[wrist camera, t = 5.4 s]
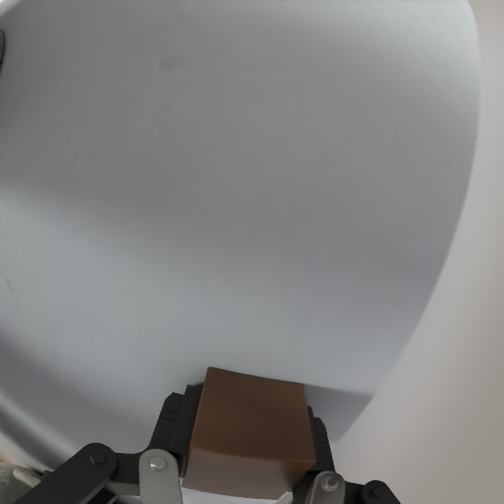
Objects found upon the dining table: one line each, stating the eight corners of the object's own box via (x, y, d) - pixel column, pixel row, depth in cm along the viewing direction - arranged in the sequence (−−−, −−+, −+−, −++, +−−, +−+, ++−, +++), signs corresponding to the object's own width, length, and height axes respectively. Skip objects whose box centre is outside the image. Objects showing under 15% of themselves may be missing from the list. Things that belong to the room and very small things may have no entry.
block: (196, 421, 11) (181, 487, 7) (208, 366, 10) (189, 446, 6) (275, 434, 11) (278, 500, 7) (303, 383, 10) (317, 461, 6)
